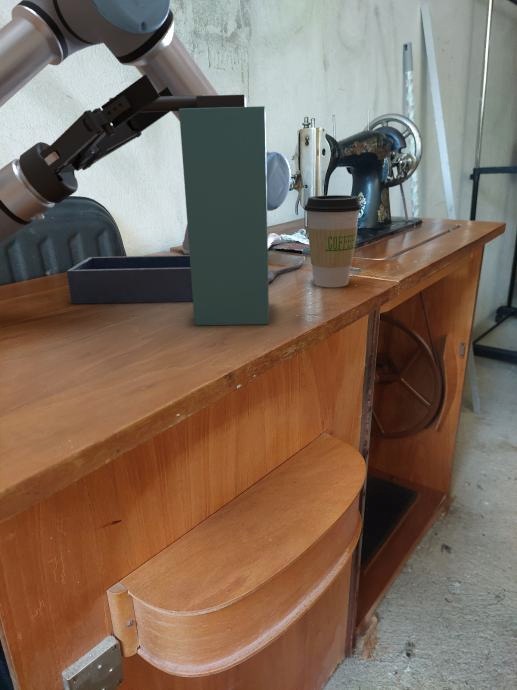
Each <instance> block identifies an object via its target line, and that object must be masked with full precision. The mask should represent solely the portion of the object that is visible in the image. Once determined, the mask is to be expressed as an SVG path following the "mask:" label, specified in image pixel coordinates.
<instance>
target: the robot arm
mask: <svg viewBox="0 0 517 690" xmlns="http://www.w3.org/2000/svg"><path fill="white" fill-rule="evenodd" d="M170 7H171V0H21V1H19V2H18V3H17V4H15V6H13V8H12V9H11V20H10V21H9V22H7V23H6V24H5V25H4V26H3V27H1V28H0V108H2V107H3V106H4V105H5V104H6V103H7V102H8V101H9V100H10V99H12V98H13V97H14V96H15V95H16V94H17V93H18V92H19V91H20V90H22V89H23V88H24V87H25V86H26V85H27V84H28V83H30V82H31V81H32V80H33V79H34V78H35V77H36V76H38V75H39V73H41V72H42V71H44V69H45V68H46V67H47V66H49V65H50V66H59V65H60V64H62V62H64V61H65V60H66V59H67V58H69V57H70V56H71V55H74V54H75V53H77V52H79V51H81V50H84V49H86V48H90V47H93V46H96V45H102V44H104V45H105V47H106V48H107V49H108V51H109V52H110V53H111V54H112V55H113V56H114V57H115V59H116V60H117V61H118V62H119V64H121V65H123V66H130V67H135V68H136V69H137V71H138V72H139V73H140V74H141V77H140V78H138V79H137V80H135V81H134V82H133V83H131V84H130V85H129V86H127V87H126V88H125V89H123V90H122V91H120V92H119V93H117V94H116V95H114V97H111V98H112V99H111V100H109V99H108V101H107V102H105V103H104V104H102V105H101V108H100V107H97V108H94V109H93V110H91V109H88V110H85V111H83V113H82V114H81V115H80V116H79V117H78V118H77V119H76V120H75V121H74V122H73V123H72V124H70V126H69V127H68V128H67V129H66V130H65V131H64V132H63V133H62V134H61V135H60V136H59V137H57V138H56V140H55V141H53V142H52V143H51V144H48V143H46V142H44V141H43V142H42V141H40V142H37V143H35V144H33V146H31V147H29V148H28V149H27V150H26V151H24V152H23V153H21V154H20V155H19V158H14V159H12V160H11V161H10V162H8V163H7V164H6V165H4V166H3V167H2V168H1V169H0V246H1V245H3V243H4V242H6V241H7V240H8V239H10V238H11V237H13V236H14V235H15V234H16V233H18V232H19V231H21V230H22V229H24V228H25V227H26V226H28V225H29V224H31V223H32V222H33V221H35V220H38V221H39V222H41V221H43V220H45V215H44V213H46V212H48V211H50V210H51V209H52V208H54V207H55V204H60V203H62V202H63V201H64V200H66V199H68V198H69V197H71V196H72V195H74V194H75V193H76V192H77V191H78V188H79V182H78V179H77V177H76V175H75V171H76V172H78V171H81V170H82V171H86V170H87V169H89V168H91V167H92V166H93V165H94V164H96V163H98V162H99V161H100V160H102V159H103V158H105V157H107V156H108V155H110V154H112V153H113V152H115V151H117V150H118V149H120V148H123V146H125V145H127V144H128V143H130V142H132V141H133V140H135V139H137V138H140V137H141V136H142V134H143V133H142V132H144V131H145V130H146V129H147V128H149V127H151V126H152V125H153V124H155V123H156V122H157V121H159V120H160V119H162V118H163V117H165V116H166V115H168V114H169V113H170V112H140V111H141V110H143V109H144V108H145V107H147V106H148V105H150V104H151V103H152V102H154V101H155V100H157V99H158V98H160V96H193V95H203V96H208V95H219V93H218V92H217V90H216V89H215V87H214V86H213V85H212V83H211V81H210V80H209V79H208V78H207V76H206V75H205V73H204V71H202V69H201V67H200V66H199V65H198V63H197V62H196V60H195V59H194V58H193V56H192V54H191V53H190V52H189V51H188V49H187V48H186V46H185V45H184V43H183V42H182V40H181V39H180V38H179V36H178V35H177V33H176V32H175V30H174V27H175V25H174V24H175V23H174V22H175V14H174V13H173V10H171V8H170ZM171 113H172V114H173V115H174V116H175V117H176V119H177V121H179V122H180V116H179V111H171ZM266 180H267V212H272V211H275V210H277V209H279V208H280V207H281V206H282V205H283V204H284V202H285V201H286V199H287V196H288V194H289V191H290V187H291V167H290V163H289V161H288V159H287V158H286V156H285V155H284V154H282V153H280V152H277V151H271V152H269V151H268V150H267V149H266ZM181 250H182V254H183V255H190V252H189V239H188V225H187V224H186V227H185V232H184V238H183V241H182V246H181Z"/></svg>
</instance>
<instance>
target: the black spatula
mask: <svg viewBox="0 0 517 690" xmlns="http://www.w3.org/2000/svg"><path fill="white" fill-rule="evenodd" d="M112 98H113V97H109V99H108V101H109V100H111V99H112ZM222 107H247V98H246V96H245V94H244V93H243V94H218V95H208V96H203V95H193V96H160V98H158V99H157V100H155V101H154V102H152V103H151V104H150V105H148V106H147V107H145V108H144V109H143V110H141V111H140V112H169V113H170V112H172V111H179V109H188V108H222Z"/></svg>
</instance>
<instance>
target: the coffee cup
mask: <svg viewBox="0 0 517 690" xmlns="http://www.w3.org/2000/svg"><path fill="white" fill-rule="evenodd" d="M361 210H363V207H362V204H361V203H360V199H359V197H358V196H357V195H347V194H346V195H345V194H329V195H326V194H325V195H313V196H309V197H308V198H307V201H306V204H305V205H304V211H305V212H306V217H307V226H306V227H307V236H308V246H309V255H310V257H309V258H310V264H311V267H312V269H311V270H312V277H313V278H312V279H313V284H314V285H315V286H317V287H322V288H341V287H346V286H347V285H349V281H350V274H351V270H352V269H351V267H352V264H353V260H354V253H355V248H356V240H357V234H358V228H359V225H358V222H359V216H360V211H361Z"/></svg>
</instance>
